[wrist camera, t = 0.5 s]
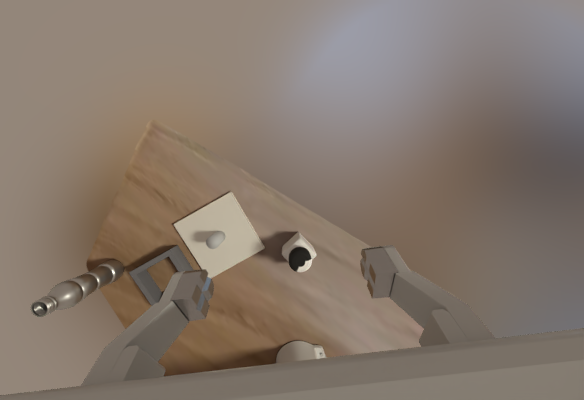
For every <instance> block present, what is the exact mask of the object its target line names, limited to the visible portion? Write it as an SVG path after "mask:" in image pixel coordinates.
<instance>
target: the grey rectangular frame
mask: <svg viewBox="0 0 584 400" xmlns="http://www.w3.org/2000/svg"><path fill="white" fill-rule="evenodd" d="M168 256H169V258H170V259H171V261H172V262H173V264H174V265H175V267H176V268H177V270H178V271H179V272H183V271H192V270H193V268H192V267H191V265H190V264H189V262H188V261H187V259H186V257H185V256H184V254H183V253H182V251H181V250H180V248H179V247H178V245H177V246H175V247H173V248H171V249H170V250H168V251H166V252H164V253H162V254H161V255H159V256H157V257H155V258H154V259H152V260H150V261H148V262H146V263H145V264H143V265H141V266H139V267H138V268H136V269H134V270H133V271H131V272H129V274H130V275H131V277H132V278H133V279H134V281H135V282H136V284H137V285H138V287H139V288H140V290H141V291H142V292H143V294H144V295H145V297H146V298H147V300H148V301H149V303H150V304H151V305H152V306H153V305H154V304H155V303H158V302H159V301H160V299H161V297H162V295H163V294H162V292H161V291H160V289H159V288H158V286H157V285H156V283H155V282H154V280H153V279H152V277H151V276H150V274H149V273H148V271H147V270H146V269H147V268H149V267H151V266H152V265H154V264H156V263H158V262H159V261H161V260H163V259H165V258H167V257H168Z"/></svg>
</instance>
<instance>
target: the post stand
mask: <svg viewBox="0 0 584 400" xmlns="http://www.w3.org/2000/svg"><path fill="white" fill-rule="evenodd" d="M173 225H174V226H175V228H176V229H177V231H178V233H179V234H180V236H181V237H182V239H183V240H184V242H185V243H186V245H187V247H188V248H189V250H190V251H191V253H192V254H193V256H194V257H195V259H196V261H197V262H198V264H199V265H200V267H201V268H202V269H206V270H207V272H208V276H207V277H209V278H212V277H214V276H216V275H218V274H219V273H221V272H223V271H225V270H227V269H228V268H230V267H232V266H234V265H236V264H237V263H239V262H241V261H243V260H245V259H246V258H248V257H250V256H252V255H254V254H255V253H257V252H259V251H261V250H263V249H264V248H265V246H264V245H263V243H262V241H261V240H260V238H259V236H258V235H257V233H256V231H255V230H254V228H253V226H252V225H251V223H250V221H249V220H248V218H247V216H246V215H245V213H244V211H243V210H242V208H241V206H240V205H239V203H238V201H237V200H236V198H235V196H234V195H233V193H232V192H230V193H228V194H226V195H224V196H223V197H221V198H219V199H217V200H216V201H214V202H212V203H210V204H209V205H207V206H205V207H203V208H201V209H200V210H198V211H196V212H194V213H193V214H191V215H189V216H187V217H186V218H184V219H182V220H180V221H179V222H177V223H175V224H173Z"/></svg>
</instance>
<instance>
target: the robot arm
mask: <svg viewBox="0 0 584 400" xmlns="http://www.w3.org/2000/svg"><path fill="white" fill-rule="evenodd" d="M361 255H362V257H363V258H362V259H361V263H360V265H361V271H362V274H363V277H364V279H366V280H367V281H368V284H367V287H368V289H369V292H370V294H371V296H372V298H383V297H390V298H391V299H392V300H393V301H394V302H395V303H396V304H397V305H398V306H399V307H401V308H402V309H403V310H404V311H405V312H406V313H407V314H408V315H409V316H411V317H412V318H413V319H414V320H415V321H416V322H417V323H418V324H419V325H421V326H422V327H423V328H424V330H423V333H422V335H421V337H420V339H419V343H420V345H421V347H415V348H407V349H398V350H389V351H380V352H372V353H363V354H354V355H346V356H337V357H328V358H326V356H325V353H324V350H323V347H322V346H320V345H312V344H309V343H307V342H303V341H293V342H290V343H288V344H286V345H284V346H283V347H282V348H281V349H280V351H279V352H278V354H277V357H276V364H268V365H259V366H250V367H242V368H233V369H224V370H216V371H207V372H198V373H190V374H181V375H172V376H164V374H165V371H166V370H165V368H164V367H163V366H162V365H161V364H160V363H158V361H159V360H160V358H161V357H162V356H163V355H164V353H165V352H166V351H167V350H168V348H169V347H170V346H171V344H172V343H173V342H174V341H175V339H176V338H177V337H178V336H179V334H180V333H181V332H182V330H183V329H184V328H185V327H186V325H187V324H188V323H189V321H193V320H200V319H206V316H207V312H208V309H209V306H210V305H209V303H208V301H209V300H210V299H211V298H212V295H213V291H214V285H213V281H212V279H211V278H209V277H207V276H208V272H207V270H206V269H202V270H192V271H183V272H176V273H175V274H173V276H172V278H171V280H170V282H169V283H168V285H167V287H166V289H165V291H164V293H163V295H162V297H161V299H160V301H159V302H158V303H155V304H154V305H153V306H152V307H150V308H149V309H148V310H147V311H146V312H145V313H144V314H143V315H141V316H140V317H139V318H138V319H137V320H136V321H135V322H133V323H132V324H131V325H130V326H129V327H128V328H127V329H126V330H125V331H123V332H122V333H121V334H120V335H119V336H118V337H116V338H115V339H114V340H113V341H112V342H111V343H110V344H109V345H108V346H106V347H105V348H104V350H103V351H102V353H101V355H100V356H99V358H98V359H97V361H96V362H95V364H94V366H93V367H92V369H91V371H90V372H89V374H88V375H87V377H86V378H85V380H84V382H83V383H82V385H81V386H77V387H69V388H60V389H51V390H43V391H34V392H25V393H17V394H8V395H0V400H584V328H581V329H572V330H564V331H555V332H546V333H537V334H530V335H529V334H528V335H520V336H512V337H502V338H495V337H494V336H493V335H492V333H491V332H490V331H489V330H488V328H487V327H486V326H485V325H484V323H483V322H482V321H481V320H480V318H479V317H478V316H477V315H476V313H475V312H474V311H473V310H472V308H471V307H470V306H469V305H468V304H466V303H464V302H463V301H461V300H460V299H458V298H457V297H455V296H453V295H452V294H450V293H448V292H447V291H445V290H443V289H442V288H440V287H439V286H437V285H435V284H434V283H432V282H430V281H429V280H427V279H426V278H424V277H422V276H421V275H419V274H417V273H416V272H414V271H410V270H409V268H408V267H407V265H406V264H405V262H404V261H403V260H402V258H401V256H400V255H399V253H398V252H397V250H396V249H395V247H394V246H393V245H390V246H382V247H381V246H380V247H373V248H366V249H362V251H361ZM163 376H164V377H163Z"/></svg>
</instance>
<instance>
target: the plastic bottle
mask: <svg viewBox="0 0 584 400" xmlns="http://www.w3.org/2000/svg"><path fill="white" fill-rule="evenodd" d="M123 272H124V266H123V265H122V263H121V262H119V261H116V260H109V261H106V262H104V263H102V264H100V265H99V266H97V267H96V268H95V269H93V270H91V271H89V272H88V273H85V274H83V275H81V276H79V277H76V278H73V279H70V280H67V281H64V282H62V283H59V284H57V285H56V286H55V287H54V288H52V289H51V291H50V292H49V293H48V295H47V296H45V297H43V298H41V299H39V300H38V301H36V302H34V303H33V304H32V305H31V311H32V313H33V314H34V315H35V316H37V317H43V316H45V315H47V314H49V313H51V312H53V311H55V310H62V309H67V308H71V307H73V306H75V305H76V304H77V303H79V302H80V301H82V300H83V299H84V298H85V297H87V296H88V295H89V294H91V293H92V292H94V291H95V290H97V289H99V288H101V287H103V286H105V285H107V284H110V283H112V282H115V281H116V280H118V279H119V278H120V277H121V276H122V275H123Z"/></svg>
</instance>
